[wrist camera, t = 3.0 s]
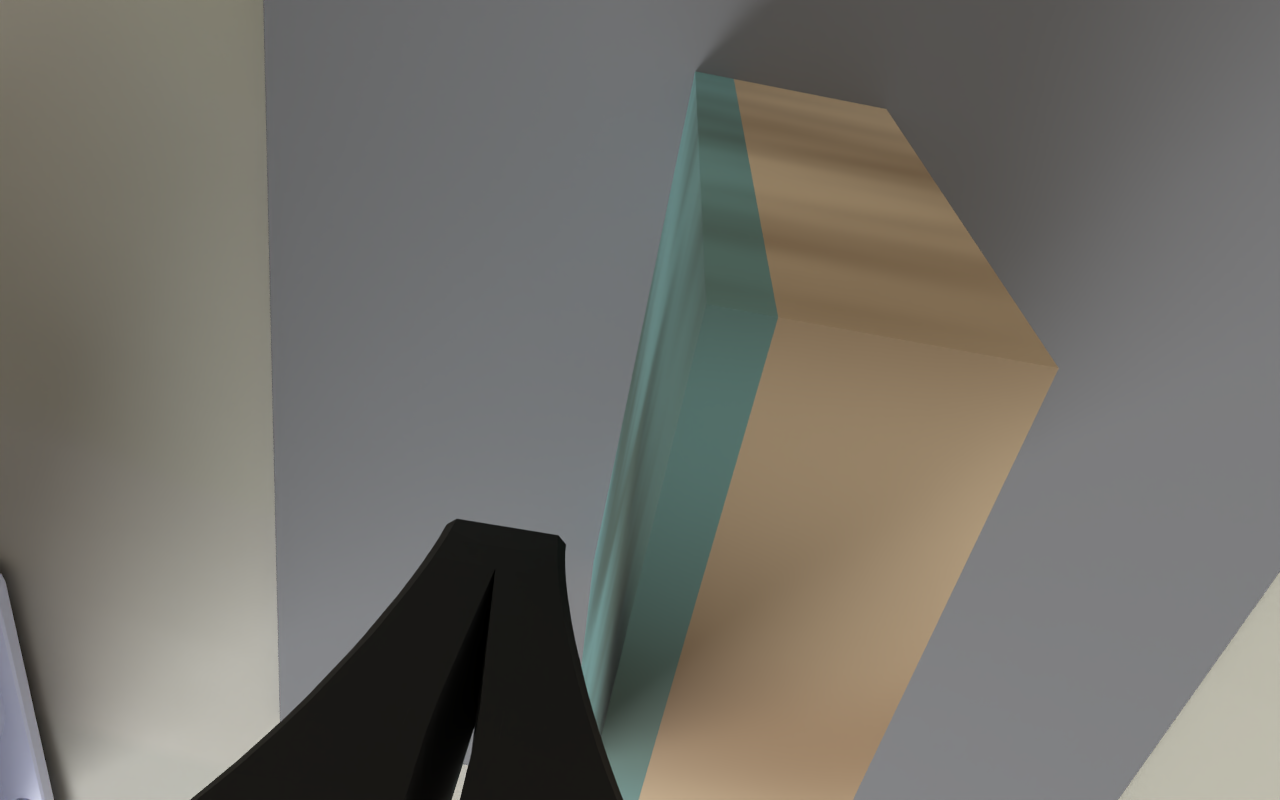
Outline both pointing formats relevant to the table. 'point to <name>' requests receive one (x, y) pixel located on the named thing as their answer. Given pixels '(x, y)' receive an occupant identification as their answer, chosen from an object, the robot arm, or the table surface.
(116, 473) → the table surface
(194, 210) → the table surface
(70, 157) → the table surface
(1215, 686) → the table surface
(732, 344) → the teal and tan block
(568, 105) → the mat
